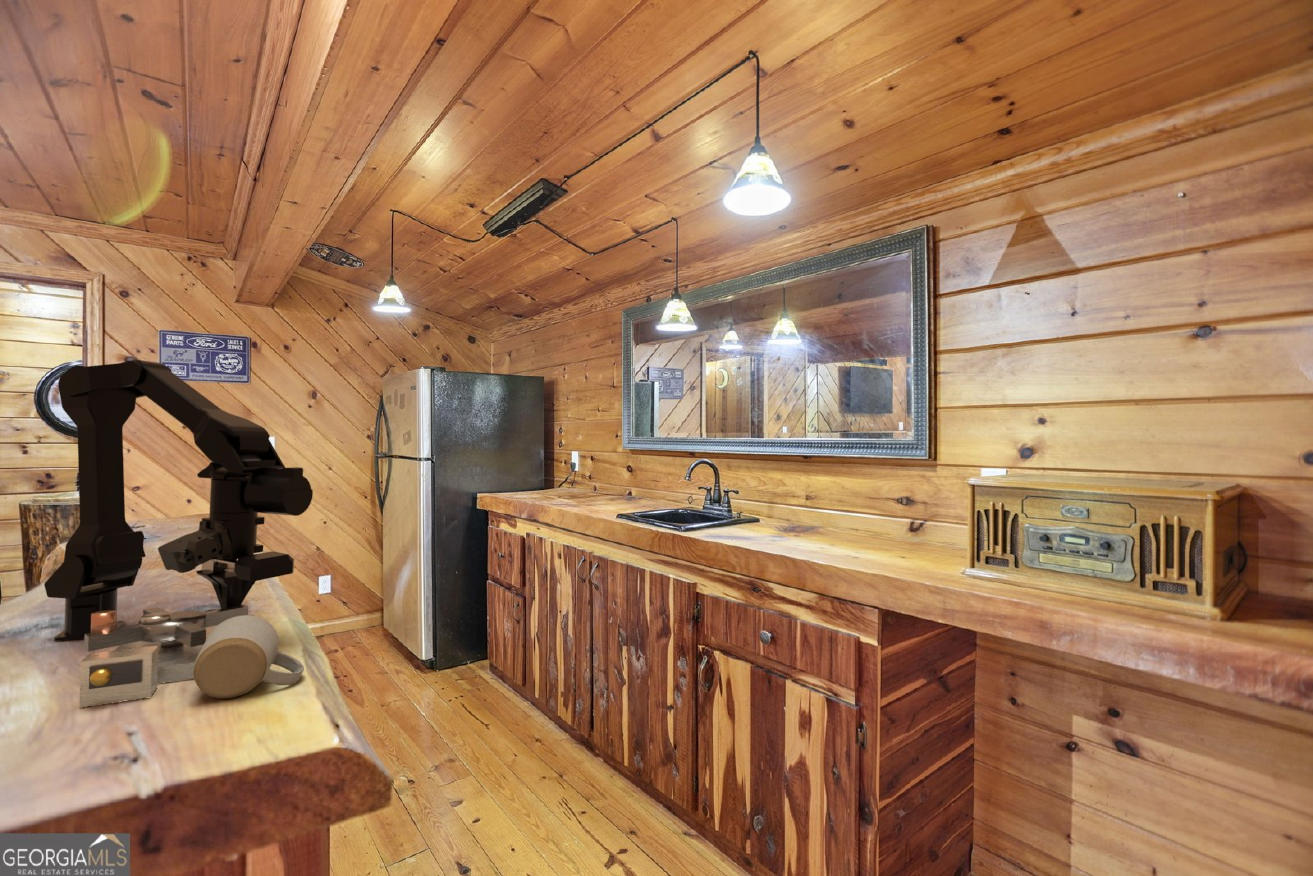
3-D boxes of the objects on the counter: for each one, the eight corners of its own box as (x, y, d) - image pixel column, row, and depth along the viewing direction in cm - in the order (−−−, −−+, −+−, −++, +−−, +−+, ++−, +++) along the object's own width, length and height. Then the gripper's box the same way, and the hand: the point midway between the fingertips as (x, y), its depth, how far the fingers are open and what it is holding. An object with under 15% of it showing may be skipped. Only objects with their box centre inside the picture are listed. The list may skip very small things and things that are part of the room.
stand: (132, 646, 84) (133, 610, 84) (236, 634, 90) (236, 601, 90) (68, 714, 63) (70, 666, 64) (208, 693, 69) (209, 649, 69)
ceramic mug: (188, 708, 65) (191, 637, 66) (203, 681, 73) (206, 617, 73) (300, 692, 70) (303, 626, 70) (305, 669, 78) (307, 609, 78)
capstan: (220, 609, 91) (221, 580, 91) (272, 629, 82) (273, 598, 82) (66, 637, 77) (67, 604, 77) (108, 666, 68) (109, 628, 68)
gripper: (129, 509, 83) (124, 622, 83) (215, 524, 75) (210, 648, 75) (215, 502, 93) (211, 603, 93) (298, 515, 86) (293, 624, 86)
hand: (229, 618), depth 87 cm, fingers closed
